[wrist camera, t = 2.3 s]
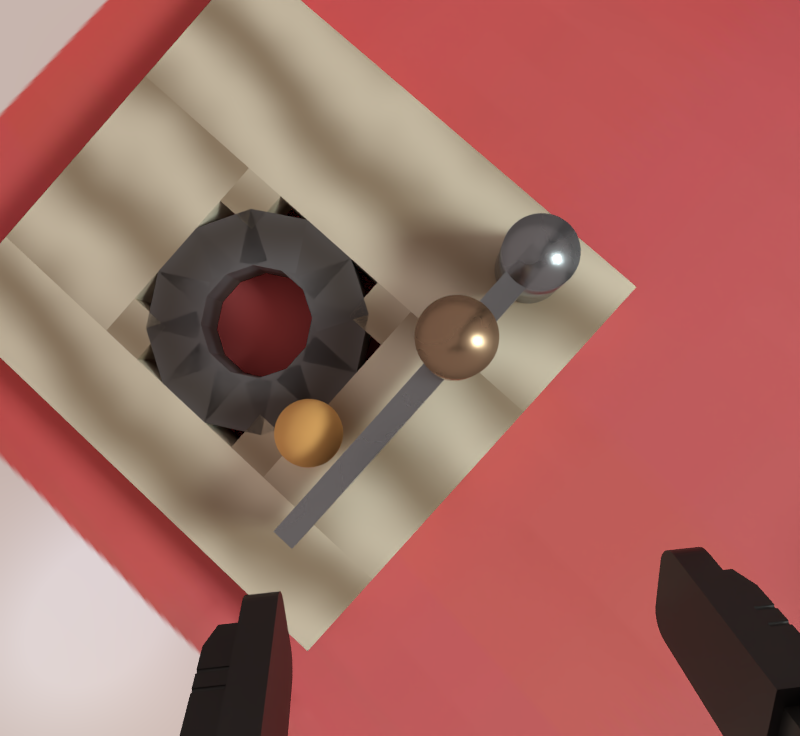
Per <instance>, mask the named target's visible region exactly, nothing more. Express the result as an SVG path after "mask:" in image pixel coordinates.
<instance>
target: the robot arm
mask: <svg viewBox="0 0 800 736" xmlns="http://www.w3.org/2000/svg"><path fill="white" fill-rule="evenodd" d="M656 619H657V624H658V627H659V630H660V633H661V635H662V637H663V639H664V641H665V643H666V644H667V646H668V647H669V649H670V651H671V652H672V654H673V655H674V657H675V659H676V660H677V662H678V664H679V665H680V667H681V668H682V670H683V672H684V673H685V675H686V676H687V678H688V680H689V681H690V683H691V685H692V686H693V688H694V689H695V691H696V693H697V694H698V696H699V697H700V699H701V701H702V702H703V704H704V705H705V707H706V709H707V710H708V712H709V714H710V715H711V717H712V718H713V720H714V722H715V723H716V725H717V726H718V728H719V730H720V731H721V733H722V735H723V736H800V633H799V632H798V631H797V630H796V628H795V627H794V626H793V625H790V624H789V622H788V619H787V618H786V617H785V616H784V615H783V614H782V613H781V612H780V610H779V609H778V608H775V607H774V604H773V603H772V601H771V600H770V599H769V598H768V597H767V596H766V595H765V594H764V592H763V591H762V590H761V589H760V588H759V587H758V586H757V585H756V584H755V583H753V582H751V581H750V580H748V579H747V578H745V577H744V576H742V575H741V574H739V573H737V572H736V571H734V570H733V569H729V570H722V568H721V567H720V566H719V565H718V564H717V562H716V561H715V560H714V559H713V558H712V557H711V555H710V554H709V553H708V552H707V551H706V550H705V549H704V548H702V547H694V548H685V549H676V550H667V551H664V552H663V554H662V557H661V563H660V572H659V581H658V590H657V598H656ZM291 689H292V652H291V645H290V638H289V632H288V626H287V620H286V614H285V607H284V601H283V596H282V593H281V591H278V592H269V593H259V594H250V595H245V596H244V597H243V601H242V606H241V611H240V616H239V621H238V623H231V624H222V625H218V626H217V627H216V629H215V630H214V631H213V633H212V634H211V635H210V637H209V638H208V640H207V641H206V642H205V644H204V645H203V647H202V651H201V654H200V658H199V662H198V666H197V674H195V678H194V682H193V686H192V693H191V694H190V697H189V701H188V705H187V709H186V713H185V717H184V721H183V725H182V729H181V733H180V736H288V726H289V713H290V701H291Z"/></svg>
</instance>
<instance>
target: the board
mask: <svg viewBox="0 0 800 736" xmlns="http://www.w3.org/2000/svg"><path fill="white" fill-rule="evenodd" d="M291 209H292V210H293V211H295V212H296V213H297V214H298V215H299V216H300V217H301V218H303V219H301V218H296V217H291V216H286V215H287V214H288V213H289V211H290V210H291ZM537 213H546V214H550V213H549V212H548V211H547V210H545V209H544V208H543V207H542V206H541V205H540V204H538V203H537V202H536V201H535V200H534V199H533V198H531V197H530V196H529V195H528V194H527V193H526V192H524V191H523V190H522V189H521V188H520V187H519V186H517V185H516V184H515V183H514V182H513V181H512V180H510V179H509V178H508V177H507V176H506V175H504V174H503V173H502V172H501V171H500V170H499V169H497V168H496V167H495V166H494V165H493V164H492V163H490V162H489V161H488V160H487V159H486V158H485V157H483V156H482V155H481V154H480V153H479V152H478V151H476V150H475V149H474V148H473V147H472V146H471V145H469V144H468V143H467V142H466V141H465V140H463V139H462V138H461V137H460V136H459V135H458V134H456V133H455V132H454V131H453V130H452V129H451V128H449V127H448V126H447V125H446V124H445V123H444V122H442V121H441V120H440V119H439V118H438V117H437V116H435V115H434V114H433V113H432V112H431V111H430V110H428V109H427V108H426V107H425V106H424V105H422V104H421V103H420V102H419V101H418V100H417V99H415V98H414V97H413V96H412V95H411V94H410V93H408V92H407V91H406V90H405V89H404V88H403V87H401V86H400V85H399V84H398V83H397V82H396V81H394V80H393V79H392V78H391V77H390V76H389V75H387V74H386V73H385V72H384V71H383V70H381V69H380V68H379V67H378V66H377V65H376V64H374V63H373V62H372V61H371V60H370V59H369V58H367V57H366V56H365V55H364V54H363V53H362V52H360V51H359V50H358V49H357V48H356V47H355V46H353V45H352V44H351V43H350V42H349V41H348V40H346V39H345V38H344V37H343V36H342V35H340V34H339V33H338V32H337V31H336V30H335V29H333V28H332V27H331V26H330V25H329V24H328V23H326V22H325V21H324V20H323V19H322V18H321V17H319V16H318V15H317V14H316V13H315V12H314V11H312V10H311V9H310V8H309V7H308V6H307V5H305V4H304V3H303V2H302V1H301V0H211V1H210V3H209V4H208V5H207V6H206V7H205V8H204V10H203V11H202V12H201V13H200V14H199V15H198V16H197V18H196V19H195V20H194V21H193V22H192V23H191V24H190V26H189V27H188V28H187V29H186V30H185V31H184V33H183V34H182V35H181V36H180V37H179V38H178V39H177V41H176V42H175V43H174V44H173V45H172V46H171V47H170V49H169V50H168V51H167V52H166V53H165V54H164V56H163V57H162V58H161V59H160V60H159V61H158V62H157V64H156V65H155V66H154V67H153V68H152V69H151V70H150V72H149V73H148V74H147V75H146V76H145V77H144V79H143V80H142V81H141V82H140V83H139V84H138V85H137V87H136V88H135V89H134V90H133V91H132V92H131V94H130V95H129V96H128V97H127V98H126V99H125V100H124V102H123V103H122V104H121V105H120V106H119V107H118V108H117V110H116V111H115V112H114V113H113V114H112V115H111V117H110V118H109V119H108V120H107V121H106V122H105V123H104V125H103V126H102V127H101V128H100V129H99V130H98V131H97V133H96V134H95V135H94V136H93V137H92V138H91V140H90V141H89V142H88V143H87V144H86V145H85V146H84V148H83V149H82V150H81V151H80V152H79V153H78V154H77V156H76V157H75V158H74V159H73V160H72V161H71V163H70V164H69V165H68V166H67V167H66V168H65V169H64V171H63V172H62V173H61V174H60V175H59V176H58V178H57V179H56V180H55V181H54V182H53V183H52V184H51V186H50V187H49V188H48V189H47V190H46V191H45V192H44V194H43V195H42V196H41V197H40V198H39V199H38V201H37V202H36V203H35V204H34V205H33V206H32V207H31V209H30V210H29V211H28V212H27V213H26V214H25V215H24V217H23V218H22V219H21V220H20V221H19V222H18V224H17V225H16V226H15V227H14V228H13V229H12V230H11V232H10V233H9V234H8V235H7V236H6V237H5V238H4V240H3V241H2V242H1V243H0V358H1V359H2V360H4V361H5V362H6V363H7V364H8V365H9V366H10V367H11V368H12V369H13V370H14V371H15V372H16V373H17V374H18V375H19V376H20V377H21V378H22V379H23V380H24V381H25V382H27V383H28V384H29V385H30V386H31V387H32V388H33V389H34V390H35V391H36V392H37V393H38V394H39V395H40V396H41V397H42V398H43V399H44V400H45V401H46V402H47V403H49V404H50V405H51V406H52V407H53V408H54V409H55V410H56V411H57V412H58V413H59V414H60V415H61V416H62V417H63V418H64V419H65V420H66V421H67V422H68V423H69V424H70V425H72V426H73V427H74V428H75V429H76V430H77V431H78V432H79V433H80V434H81V435H82V436H83V437H84V438H85V439H86V440H87V441H88V442H89V443H90V444H91V445H92V446H93V447H95V448H96V449H97V450H98V451H99V452H100V453H101V454H102V455H103V456H104V457H105V458H106V459H107V460H108V461H109V462H110V463H111V464H112V465H113V466H114V467H115V468H117V469H118V470H119V471H120V472H121V473H122V474H123V475H124V476H125V477H126V478H127V479H128V480H129V481H130V482H131V483H132V484H133V485H134V486H135V487H136V488H137V489H138V490H140V491H141V492H142V493H143V494H144V495H145V496H146V497H147V498H148V499H149V500H150V501H151V502H152V503H153V504H154V505H155V506H156V507H157V508H158V509H159V510H160V511H161V512H163V513H164V514H165V515H166V516H167V517H168V518H169V519H170V520H171V521H172V522H173V523H174V524H175V525H176V526H177V527H178V528H179V529H180V530H181V531H182V532H183V533H185V534H186V535H187V536H188V537H189V538H190V539H191V540H192V541H193V542H194V543H195V544H196V545H197V546H198V547H199V548H200V549H201V550H202V551H203V552H204V553H205V554H206V555H208V556H209V557H210V558H211V559H212V560H213V561H214V562H215V563H216V564H217V565H218V566H219V567H220V568H221V569H222V570H223V571H224V572H225V573H226V574H227V575H228V576H230V577H231V578H232V579H233V580H234V581H235V582H236V583H237V584H238V585H239V586H240V587H241V588H242V589H243V590H244V591H245V592H246V593H247V594H248V595H250V594H259V593H269V592H278V591H281V593H282V596H283V601H284V607H285V614H286V620H287V626H288V632H289V634H290V635H291V636H292V637H293V638H294V639H295V640H296V641H298V642H299V643H300V644H301V645H302V646H303V647H304V648H305V649H306V650H307V651H308V650H309V649H310V648H311V647H312V646H313V644H314V643H315V642H316V641H317V640H318V639H319V638H320V637H321V636H322V634H323V633H324V632H325V631H326V630H327V629H328V628H329V627H330V626H331V624H332V623H333V622H334V621H335V620H336V619H337V618H338V617H339V616H340V615H341V613H342V612H343V611H344V610H345V609H346V608H347V607H348V606H349V605H350V603H351V602H352V601H353V600H354V599H355V598H356V597H357V596H358V595H359V593H360V592H361V591H362V590H363V589H364V588H365V587H366V586H367V585H368V584H369V582H370V581H371V580H372V579H373V578H374V577H375V576H376V575H377V574H378V572H379V571H380V570H381V569H382V568H383V567H384V566H385V565H386V564H387V562H388V561H389V560H390V559H391V558H392V557H393V556H394V555H395V554H396V552H397V551H398V550H399V549H400V548H401V547H402V546H403V545H404V544H405V543H406V541H407V540H408V539H409V538H410V537H411V536H412V535H413V534H414V533H415V531H416V530H417V529H418V528H419V527H420V526H421V525H422V524H423V523H424V521H425V520H426V519H427V518H428V517H429V516H430V515H431V514H432V513H433V512H434V510H435V509H436V508H437V507H438V506H439V505H440V504H441V503H442V502H443V500H444V499H445V498H446V497H447V496H448V495H449V494H450V493H451V492H452V490H453V489H454V488H455V487H456V486H457V485H458V484H459V483H460V482H461V480H462V479H463V478H464V477H465V476H466V475H467V474H468V473H469V472H470V471H471V469H472V468H473V467H474V466H475V465H476V464H477V463H478V462H479V461H480V459H481V458H482V457H483V456H484V455H485V454H486V453H487V452H488V451H489V449H490V448H491V447H492V446H493V445H494V444H495V443H496V442H497V441H498V440H499V438H500V437H501V436H502V435H503V434H504V433H505V432H506V431H507V430H508V428H509V427H510V426H511V425H512V424H513V423H514V422H515V421H516V420H517V418H518V417H519V416H520V415H521V414H522V413H523V412H524V411H525V410H526V408H527V407H528V406H529V405H530V404H531V403H532V402H533V401H534V400H535V399H536V397H537V396H538V395H539V394H540V393H541V392H542V391H543V390H544V389H545V387H546V386H547V385H548V384H549V383H550V382H551V381H552V380H553V379H554V377H555V376H556V375H557V374H558V373H559V372H560V371H561V370H562V369H563V368H564V366H565V365H566V364H567V363H568V362H569V361H570V360H571V359H572V358H573V356H574V355H575V354H576V353H577V352H578V351H579V350H580V349H581V348H582V346H583V345H584V344H585V343H586V342H587V341H588V340H589V339H590V338H591V337H592V335H593V334H594V333H595V332H596V331H597V330H598V329H599V328H600V327H601V325H602V324H603V323H604V322H605V321H606V320H607V319H608V318H609V317H610V315H611V314H612V313H613V312H614V311H615V310H616V309H617V308H618V307H619V305H620V304H621V303H622V302H623V301H624V300H625V299H626V298H627V297H628V296H629V294H630V293H631V292H632V291H633V290H634V289H635V288H636V286H635V285H633V284H632V283H631V282H630V281H629V280H627V279H626V278H625V277H624V276H623V275H622V274H620V273H619V272H618V271H617V270H616V269H615V268H613V267H612V266H611V265H610V264H609V263H608V262H606V261H605V260H604V259H603V258H602V257H601V256H599V255H598V254H597V253H596V252H595V251H594V250H592V249H591V248H590V247H589V246H588V245H586V244H585V243H584V242H583V241H582V240H581V239H579V238H578V239H579V242H580V247H581V256H580V261H579V265H578V267H577V269H576V271H575V273H574V274H573V275H572V277H571V278H570V279H569V280H568V281H567V282H566V283H564V284H563V285H562V286H561V287H560V288H559V289H558V290H556V291H555V292H554V293H553V294H552V295H551V296H549V297H548V298H546V299H545V300H542V301H540V302H536V303H521V302H517V301H515V302H514V303H513V304H512V305H511V306H510V308H509V309H508V310H507V311H506V312H505V313H504V314H503V315H502V317H501V318H500V319H499V320H498V321H497V324H498V328H499V345H498V349H497V352H496V354H495V356H494V358H493V360H492V361H491V362H490V364H489V365H488V366H487V367H486V368H485V369H484V370H482V371H481V372H480V373H478V374H476V375H474V376H472V377H470V378H467V379H465V380H461V381H447V380H444V381H443V382H442V383H441V384H440V386H439V387H438V388H437V389H436V390H435V391H434V392H433V393H432V395H431V396H430V397H429V398H428V399H427V400H426V401H425V402H424V403H423V405H422V406H421V407H420V408H419V409H418V410H417V411H416V412H415V413H414V415H413V416H412V417H411V418H410V419H409V420H408V421H407V422H406V423H405V425H404V426H403V427H402V428H401V429H400V430H399V431H398V432H397V434H396V435H395V436H394V437H393V438H392V439H391V440H390V441H389V442H388V444H387V445H386V446H385V447H384V448H383V449H382V450H381V451H380V452H379V454H378V455H377V456H376V457H375V458H374V459H373V460H372V461H371V463H370V464H369V465H368V466H367V467H366V468H365V469H364V470H363V471H362V473H361V474H360V475H359V476H358V477H357V478H356V479H355V480H354V481H353V483H352V484H351V485H350V486H349V487H348V488H347V489H346V490H345V491H344V493H343V494H342V495H341V496H340V497H339V498H338V499H337V500H336V502H335V503H334V504H333V505H332V506H331V507H330V508H329V509H328V510H327V512H326V513H325V514H324V515H323V516H322V517H321V518H320V519H319V520H318V522H317V523H316V524H315V525H314V526H313V527H312V528H311V529H310V530H309V532H308V533H307V534H306V535H305V536H304V537H303V538H302V539H301V540H300V541H299V542H298V543H297V544H296V545H295V546H294V547H293V548H292V549H291V548H290V547H289V546H288V545H287V544H286V543H285V542H284V541H283V540H282V539H281V538H280V537H279V536H278V535H277V534H276V533H274V532H273V531H274V530H275V529H276V528H277V527H278V526H279V525H280V523H281V522H282V521H283V520H284V519H285V518H286V517H287V516H288V514H289V513H290V512H291V511H292V510H293V509H294V508H295V507H296V506H297V504H298V503H299V502H300V501H301V500H302V499H303V498H304V497H305V495H306V494H307V493H308V492H309V491H310V490H311V489H312V488H313V487H314V485H315V484H316V483H317V482H318V481H319V480H320V479H321V478H322V476H323V475H324V474H325V473H326V472H327V471H328V470H329V469H330V468H331V466H332V465H333V464H334V463H335V462H336V461H337V460H338V459H339V458H340V456H341V455H342V454H343V453H344V452H345V451H346V450H347V449H348V447H349V446H350V445H351V444H352V443H353V442H354V441H355V440H356V439H357V437H358V436H359V435H360V434H361V433H362V432H363V431H364V430H365V428H366V427H367V426H368V425H369V424H370V423H371V422H372V421H373V420H374V418H375V417H376V416H377V415H378V414H379V413H380V412H381V411H382V409H383V408H384V407H385V406H386V405H387V404H388V403H389V402H390V401H391V399H392V398H393V397H394V396H395V395H396V394H397V393H398V392H399V391H400V389H401V388H402V387H403V386H404V385H405V384H406V383H407V382H408V380H409V379H410V378H411V377H412V376H413V375H414V374H415V373H416V372H417V370H418V369H419V368H420V367H421V366H422V365H423V364H424V363H423V362H422V360H421V359H420V357H419V355H418V353H417V350H416V346H415V339H414V337H415V328H416V324H417V321H418V319H419V317H420V315H421V314H422V312H423V311H424V310H425V309H426V308H427V307H428V306H429V305H430V304H431V303H432V302H434V301H436V300H437V299H439V298H442V297H445V296H449V295H466V296H469V297H472V298H475V299H477V300H478V301H480V300H481V299H482V298H483V297H484V296H485V294H486V293H487V292H488V291H489V290H490V289H491V288H492V287H493V286H494V284H495V283H496V282H497V281H496V277H495V262H496V259H497V256H498V253H499V251H500V248H501V246H502V243H503V241H504V238H505V236H506V234H507V232H508V231H509V229H510V228H511V227H512V226H513V225H514V224H515V223H516V222H517V221H518V220H520V219H522V218H523V217H526V216H528V215H532V214H537ZM234 214H235V215H234ZM357 267H358V268H359V269H360V270H361V271H362V272H363V273H364V274H366V275H367V276H368V277H369V278H370V279H371V280H372V281H373V282H375V283H376V285H375V286H374V287H373V288H372V290H371V291H370V292H369V293H368V294H367V295H366V293H365V290H364V287H363V284H362V281H361V277H360V274H359V271H358V268H357ZM265 273H268V274H273V275H278V276H283V277H288V278H291V279H292V280H293V281H294V282H295V283H296V284H297V285H298V286H299V287H301V288H302V289H303V291H304V294H305V297H306V300H307V303H308V307H309V310H310V313H311V316H312V321H311V325H310V330H309V335H308V339H307V344H306V347H305V348H304V350H303V351H302V352H301V353H300V354H299V355H298V356H297V357H296V359H295V360H294V361H293V362H292V363H291V364H290V365H289V366H288V368H287V369H284V370H281V371H278V372H275V373H272V374H269V375H266V376H263V377H261V376H256V375H251V374H247V373H244V372H243V371H242V370H241V369H240V368H239V367H238V366H236V365H235V364H234V363H233V362H232V361H231V360H230V359H229V358H228V357H227V356H226V355H225V354H224V350H223V347H222V344H221V341H220V338H219V334H218V331H217V326H218V321H219V317H220V312H221V307H222V303H223V301H224V300H225V299H226V298H227V297H228V296H229V294H230V293H231V292H232V291H233V290H234V289H235V288H236V287H237V285H238V284H239V283H240V282H242V281H245V280H247V279H250V278H253V277H256V276H259V275H262V274H265ZM370 336H372V337H373V338H374V339H375V340H376V341H377V342H378V343H379V344H381V346H380V347H379V348H378V349H377V350H376V351H375V353H374V354H373V355H372V356H371V357H370V358H369V359H368V360H367V361H366V363H365V360H366V355H367V350H368V346H369V341H370ZM302 399H316V400H319V401H322V402H325V403H326V404H328V405H329V406H331V407H332V408H333V409H334V410H335V411H336V413H337V414H338V416H339V417H340V420H341V422H342V426H343V439H342V443H341V446H340V448H339V450H338V452H337V453H336V454H335V455H334V457H333V458H332V459H330V460H329V461H328V462H326V463H324V464H322V465H320V466H316V467H310V468H308V467H300V466H297V465H294V464H292V463H290V462H289V461H287V460H286V459H285V458H284V457H283V456H282V455H281V453H280V452H279V450H278V448H277V446H276V443H275V439H274V429H275V424H276V421H277V419H278V417H279V415H280V414H281V412H282V411H283V410H284V409H285V408H286V407H287V406H289V405H290V404H292V403H294V402H296V401H299V400H302ZM229 428H231V429H235V430H240V431H244V433H243V435H242V436H241V437H240V438H239V437H238V436H237V435H236V434H235V433H234V432H233V431H232V430H231V429H229Z"/></svg>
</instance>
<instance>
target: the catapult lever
mask: <svg viewBox="0 0 800 736" xmlns="http://www.w3.org/2000/svg"><path fill="white" fill-rule="evenodd" d="M580 256H581V247H580V242H579V239H578V236H577V234H576V232H575V231H574V229H573V228H572V227H571V226H570V225H569V224H568V223H567V222H566V221H565V220H563V219H561V218H560V217H558V216H555V215H552V214H546V213H537V214H532V215H528V216H526V217H523V218H522V219H520V220H518V221H517V222H516V223H515V224H514V225H513V226H512V227H511V228H510V229H509V231H508V232H507V234H506V236H505V238H504V241H503V243H502V246H501V248H500V251H499V253H498V256H497V259H496V262H495V277H496V281H497V282H496V283H495V284H494V286H493V287H492V288H491V289H490V290H489V291H488V292H487V293H486V294H485V296H484V297H483V298H482V299H481V300H480V301H478V300H477V299H475V298H472V297H469V296H466V295H449V296H445V297H442V298H439V299H437V300H436V301H434V302H432V303H431V304H430V305H429V306H428V307H427V308H426V309H425V310H424V311H423V312H422V314H421V315H420V317H419V319H418V321H417V324H416V328H415V337H414V339H415V346H416V350H417V353H418V355H419V357H420V359H421V360H422V362H423V363H424V364H423V365H422V366H421V367H420V368H419V369H418V370H417V372H416V373H415V374H414V375H413V376H412V377H411V378H410V379H409V380H408V382H407V383H406V384H405V385H404V386H403V387H402V388H401V389H400V391H399V392H398V393H397V394H396V395H395V396H394V397H393V398H392V399H391V401H390V402H389V403H388V404H387V405H386V406H385V407H384V408H383V409H382V411H381V412H380V413H379V414H378V415H377V416H376V417H375V418H374V420H373V421H372V422H371V423H370V424H369V425H368V426H367V427H366V428H365V430H364V431H363V432H362V433H361V434H360V435H359V436H358V437H357V439H356V440H355V441H354V442H353V443H352V444H351V445H350V446H349V447H348V449H347V450H346V451H345V452H344V453H343V454H342V455H341V456H340V458H339V459H338V460H337V461H336V462H335V463H334V464H333V465H332V466H331V468H330V469H329V470H328V471H327V472H326V473H325V474H324V475H323V476H322V478H321V479H320V480H319V481H318V482H317V483H316V484H315V485H314V487H313V488H312V489H311V490H310V491H309V492H308V493H307V494H306V495H305V497H304V498H303V499H302V500H301V501H300V502H299V503H298V504H297V506H296V507H295V508H294V509H293V510H292V511H291V512H290V513H289V514H288V516H287V517H286V518H285V519H284V520H283V521H282V522H281V523H280V525H279V526H278V527H277V528H276V529H275V530H274V531H273V532H274V533H276V534H277V535H278V536H279V537H280V538H281V539H282V540H283V541H284V542H285V543H286V544H287V545H288V546H289V547H290V548H291V549H292V548H293V547H294V546H295V545H296V544H297V543H298V542H299V541H300V540H301V539H302V538H303V537H304V536H305V535H306V534H307V533H308V532H309V530H310V529H311V528H312V527H313V526H314V525H315V524H316V523H317V522H318V520H319V519H320V518H321V517H322V516H323V515H324V514H325V513H326V512H327V510H328V509H329V508H330V507H331V506H332V505H333V504H334V503H335V502H336V500H337V499H338V498H339V497H340V496H341V495H342V494H343V493H344V491H345V490H346V489H347V488H348V487H349V486H350V485H351V484H352V483H353V481H354V480H355V479H356V478H357V477H358V476H359V475H360V474H361V473H362V471H363V470H364V469H365V468H366V467H367V466H368V465H369V464H370V463H371V461H372V460H373V459H374V458H375V457H376V456H377V455H378V454H379V452H380V451H381V450H382V449H383V448H384V447H385V446H386V445H387V444H388V442H389V441H390V440H391V439H392V438H393V437H394V436H395V435H396V434H397V432H398V431H399V430H400V429H401V428H402V427H403V426H404V425H405V423H406V422H407V421H408V420H409V419H410V418H411V417H412V416H413V415H414V413H415V412H416V411H417V410H418V409H419V408H420V407H421V406H422V405H423V403H424V402H425V401H426V400H427V399H428V398H429V397H430V396H431V395H432V393H433V392H434V391H435V390H436V389H437V388H438V387H439V386H440V384H441V383H442V382H443V381H444V380H447V381H461V380H465V379H467V378H470V377H472V376H474V375H476V374H478V373H480V372H481V371H482V370H484V369H485V368H486V367H487V366H488V365H489V364H490V362H491V361H492V360H493V358H494V356H495V354H496V352H497V349H498V345H499V328H498V324H497V321H498V320H499V319H500V318H501V317H502V315H503V314H504V313H505V312H506V311H507V310H508V309H509V308H510V306H511V305H512V304H513V303H514V302H515V301H517V302H521V303H536V302H540V301H542V300H545V299H546V298H548V297H549V296H551V295H552V294H553V293H554V292H555V291H556V290H558V289H559V288H560V287H561V286H562V285H563V284H564V283H566V282H567V281H568V280H569V279H570V278H571V277H572V275H573V274H574V273H575V271H576V269H577V267H578V265H579V261H580Z"/></svg>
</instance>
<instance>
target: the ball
mask: <svg viewBox="0 0 800 736" xmlns="http://www.w3.org/2000/svg"><path fill="white" fill-rule="evenodd" d="M274 439H275V443H276V446H277V448H278V450H279V452H280V453H281V455H282V456H283V457H284V458H285V459H286V460H287V461H289V462H290V463H292V464H294V465H297V466H300V467H308V468H310V467H316V466H320V465H322V464H324V463H326V462H328V461H329V460H330V459H332V458H333V457H334V455H335V454H336V453H337V452H338V450H339V448H340V446H341V443H342V439H343V426H342V422H341V420H340V417H339V416H338V414H337V413H336V411H335V410H334V409H333V408H332V407H331V406H329V405H328V404H326V403H325V402H322V401H319V400H316V399H302V400H299V401H296V402H294V403H292V404H290V405H289V406H287V407H286V408H285V409H284V410H283V411H282V412H281V414H280V415H279V417H278V419H277V421H276V424H275V429H274Z"/></svg>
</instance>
